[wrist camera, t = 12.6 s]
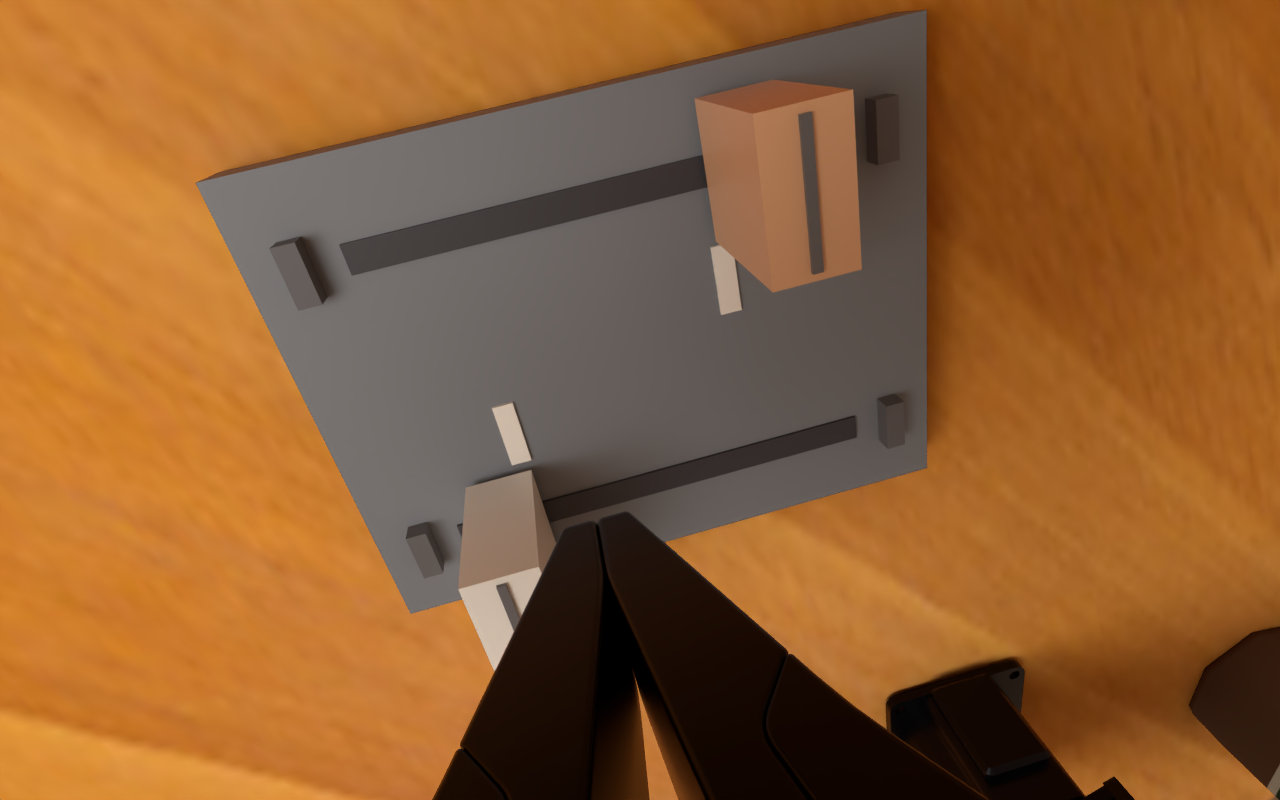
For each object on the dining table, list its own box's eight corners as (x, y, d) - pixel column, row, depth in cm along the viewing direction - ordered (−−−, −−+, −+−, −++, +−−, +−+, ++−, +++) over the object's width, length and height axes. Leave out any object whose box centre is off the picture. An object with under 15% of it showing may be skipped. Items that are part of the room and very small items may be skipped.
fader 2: (786, 223, 19) (863, 270, 15) (715, 241, 19) (774, 294, 15) (772, 79, 17) (855, 89, 13) (694, 98, 17) (754, 114, 13)
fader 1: (561, 559, 22) (575, 669, 19) (501, 576, 22) (501, 691, 18) (531, 469, 21) (539, 569, 17) (465, 487, 21) (457, 592, 17)
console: (904, 446, 25) (936, 477, 23) (415, 582, 24) (408, 627, 22) (896, 12, 19) (940, 8, 17) (218, 172, 17) (185, 187, 16)
